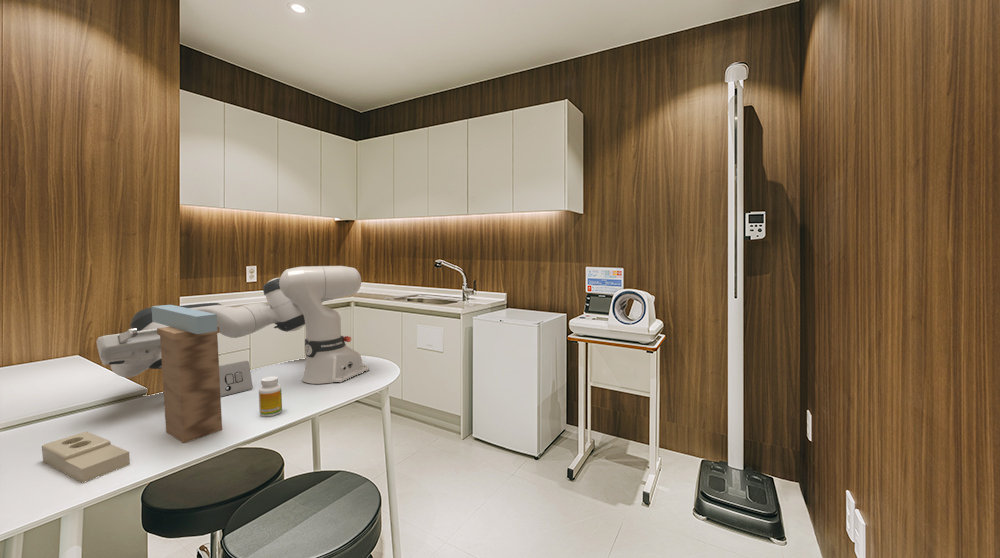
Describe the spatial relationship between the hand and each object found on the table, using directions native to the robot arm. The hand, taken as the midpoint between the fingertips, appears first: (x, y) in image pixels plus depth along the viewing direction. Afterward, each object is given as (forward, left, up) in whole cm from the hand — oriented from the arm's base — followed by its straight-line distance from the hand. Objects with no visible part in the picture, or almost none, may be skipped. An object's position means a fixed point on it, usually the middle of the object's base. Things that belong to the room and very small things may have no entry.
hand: (156, 328), depth 105 cm
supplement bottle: (-16, +23, -24) cm, 37 cm away
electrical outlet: (+18, +16, -24) cm, 34 cm away
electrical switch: (-18, -3, -24) cm, 30 cm away
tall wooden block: (0, +18, -24) cm, 30 cm away
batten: (0, +15, +2) cm, 15 cm away
